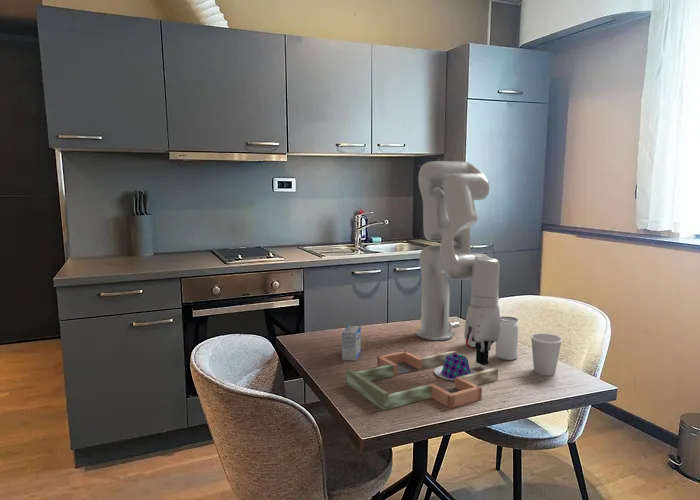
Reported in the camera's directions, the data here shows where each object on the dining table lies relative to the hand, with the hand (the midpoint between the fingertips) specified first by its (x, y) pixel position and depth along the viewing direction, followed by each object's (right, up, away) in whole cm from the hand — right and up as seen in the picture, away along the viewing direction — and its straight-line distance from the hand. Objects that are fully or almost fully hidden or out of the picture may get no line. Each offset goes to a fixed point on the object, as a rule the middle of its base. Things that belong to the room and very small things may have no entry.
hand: (481, 363), depth 144 cm
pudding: (-8, -2, -5) cm, 10 cm away
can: (+10, 0, +9) cm, 14 cm away
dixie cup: (+17, -2, -3) cm, 17 cm away
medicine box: (-38, 0, +10) cm, 39 cm away
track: (-18, -3, -10) cm, 21 cm away
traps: (-18, -3, -10) cm, 21 cm away
